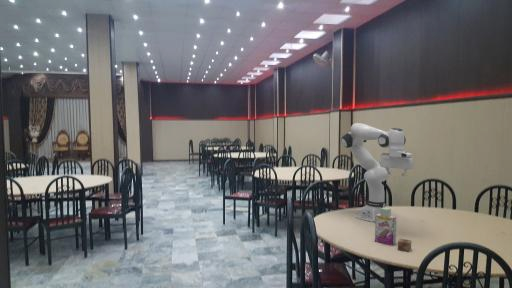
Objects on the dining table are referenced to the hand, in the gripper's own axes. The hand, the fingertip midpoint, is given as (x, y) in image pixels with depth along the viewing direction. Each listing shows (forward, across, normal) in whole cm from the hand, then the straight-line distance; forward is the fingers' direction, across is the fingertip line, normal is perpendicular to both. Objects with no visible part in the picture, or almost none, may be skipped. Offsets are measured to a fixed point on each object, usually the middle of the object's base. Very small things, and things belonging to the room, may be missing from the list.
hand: (396, 175), depth 220 cm
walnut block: (+39, +14, -21) cm, 46 cm away
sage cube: (+23, +1, -17) cm, 28 cm away
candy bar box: (+39, +1, -17) cm, 43 cm away
